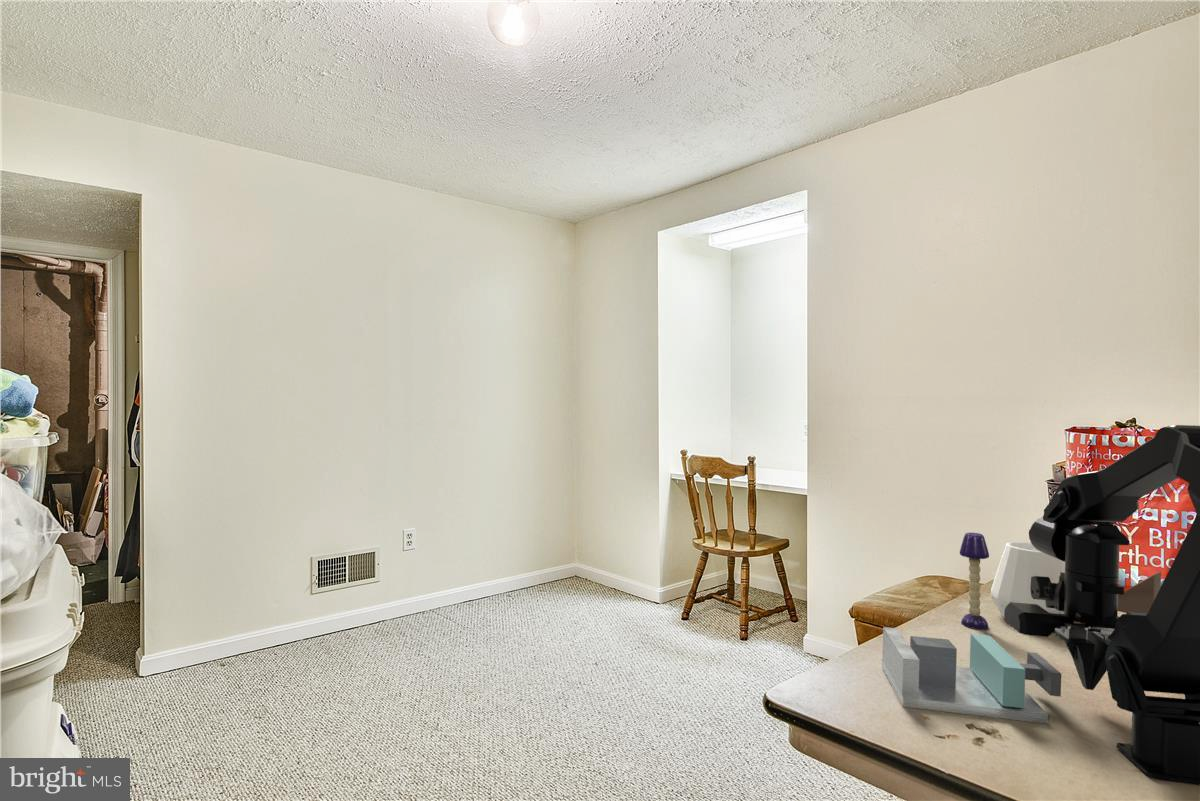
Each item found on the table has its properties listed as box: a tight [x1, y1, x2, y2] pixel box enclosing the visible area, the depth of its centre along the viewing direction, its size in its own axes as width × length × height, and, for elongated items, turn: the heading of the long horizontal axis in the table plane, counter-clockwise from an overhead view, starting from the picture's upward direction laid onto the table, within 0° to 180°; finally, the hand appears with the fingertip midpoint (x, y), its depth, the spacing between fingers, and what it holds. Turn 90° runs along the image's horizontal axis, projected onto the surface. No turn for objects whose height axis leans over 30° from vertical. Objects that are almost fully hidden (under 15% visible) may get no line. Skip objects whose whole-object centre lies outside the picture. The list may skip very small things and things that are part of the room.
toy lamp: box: [959, 532, 990, 630], centre depth 117 cm, size 5×5×17 cm
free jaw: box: [969, 633, 1062, 708], centre depth 88 cm, size 12×8×5 cm, turn 168°
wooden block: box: [1074, 571, 1162, 624], centre depth 106 cm, size 4×11×18 cm, turn 35°
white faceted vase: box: [990, 541, 1065, 619], centre depth 120 cm, size 13×13×14 cm
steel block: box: [909, 635, 958, 689], centre depth 90 cm, size 4×5×6 cm
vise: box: [880, 626, 1049, 724], centre depth 89 cm, size 13×17×6 cm
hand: (1087, 688), depth 86 cm, fingers closed
